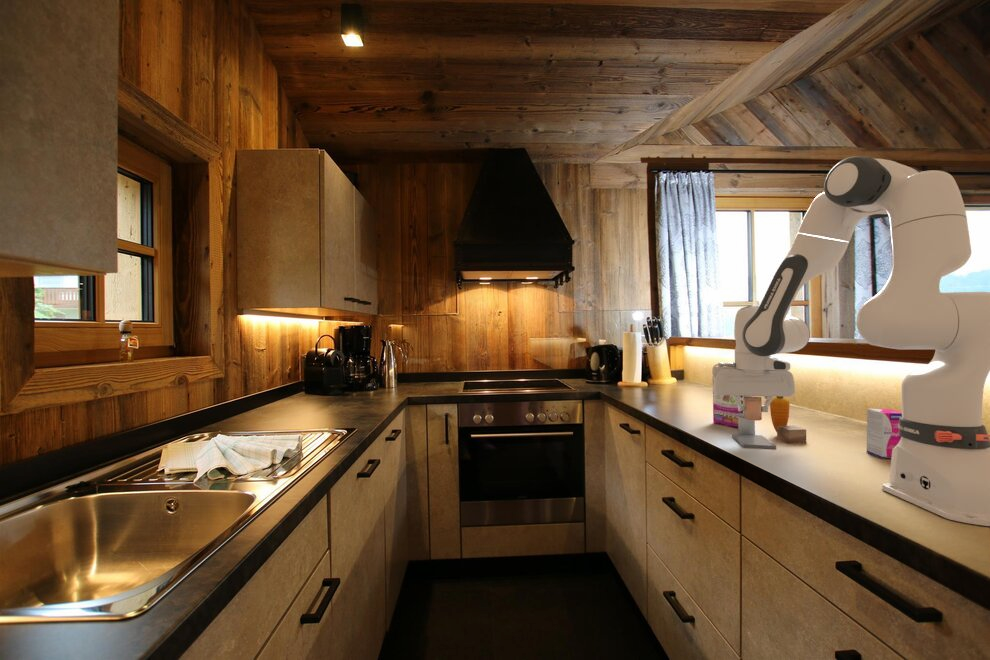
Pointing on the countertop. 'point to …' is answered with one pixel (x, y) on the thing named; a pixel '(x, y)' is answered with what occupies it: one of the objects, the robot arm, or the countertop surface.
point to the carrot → (779, 411)
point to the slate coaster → (753, 441)
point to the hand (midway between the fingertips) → (752, 411)
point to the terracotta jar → (753, 408)
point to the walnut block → (791, 434)
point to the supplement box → (882, 431)
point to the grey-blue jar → (745, 425)
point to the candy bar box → (726, 409)
